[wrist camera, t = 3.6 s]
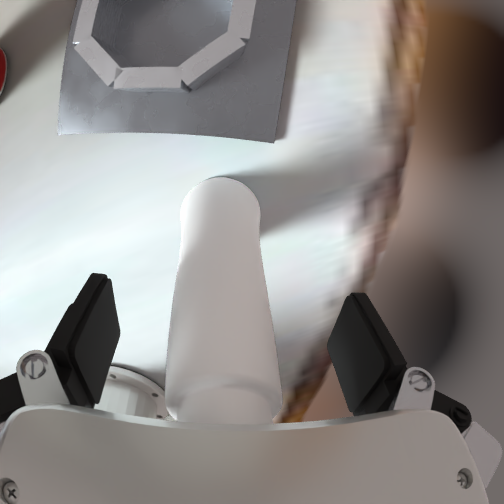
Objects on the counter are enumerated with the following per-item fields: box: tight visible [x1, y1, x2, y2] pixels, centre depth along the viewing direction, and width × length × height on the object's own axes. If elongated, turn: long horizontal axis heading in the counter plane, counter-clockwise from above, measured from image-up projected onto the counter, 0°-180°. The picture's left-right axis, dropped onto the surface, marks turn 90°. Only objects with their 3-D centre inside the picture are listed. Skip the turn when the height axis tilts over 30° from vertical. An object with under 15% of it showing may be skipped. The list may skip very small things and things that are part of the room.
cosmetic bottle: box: [165, 177, 283, 424], centre depth 12 cm, size 6×6×22 cm
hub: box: [58, 0, 296, 143], centre depth 13 cm, size 16×16×5 cm
